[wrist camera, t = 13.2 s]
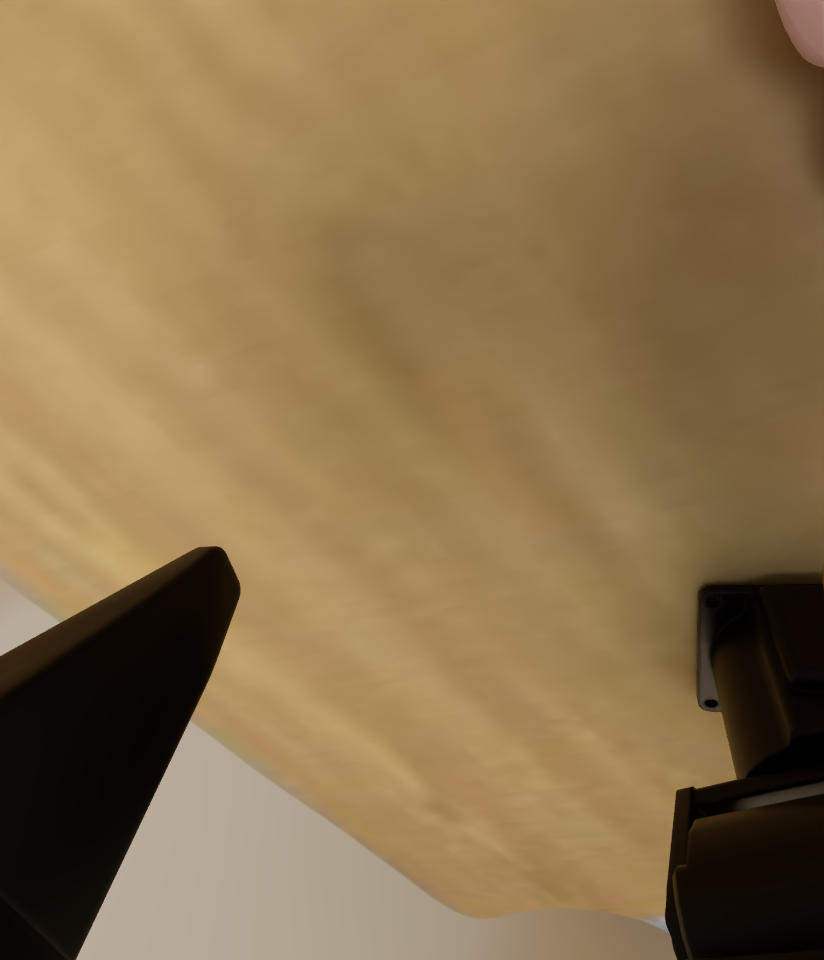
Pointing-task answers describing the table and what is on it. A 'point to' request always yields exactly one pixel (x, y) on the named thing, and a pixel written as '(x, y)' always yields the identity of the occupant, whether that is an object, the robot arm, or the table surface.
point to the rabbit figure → (804, 27)
